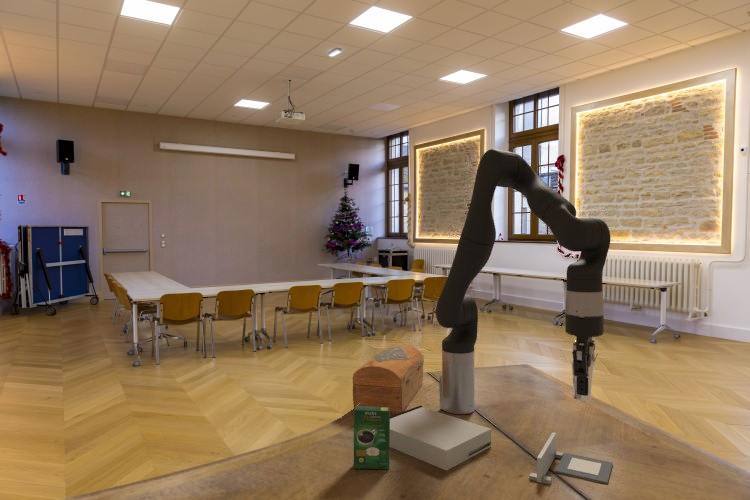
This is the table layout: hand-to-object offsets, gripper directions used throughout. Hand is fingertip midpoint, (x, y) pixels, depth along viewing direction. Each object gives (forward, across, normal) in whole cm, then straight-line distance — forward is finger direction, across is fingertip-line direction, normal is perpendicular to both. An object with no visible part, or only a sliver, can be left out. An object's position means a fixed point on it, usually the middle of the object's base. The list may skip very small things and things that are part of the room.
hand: (584, 391), depth 106 cm
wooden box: (+17, -21, -60) cm, 66 cm away
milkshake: (+2, 0, 0) cm, 2 cm away
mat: (+17, 0, 0) cm, 17 cm away
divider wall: (+17, +4, -7) cm, 18 cm away
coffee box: (+17, +22, -40) cm, 49 cm away
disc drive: (+17, +4, -34) cm, 38 cm away
